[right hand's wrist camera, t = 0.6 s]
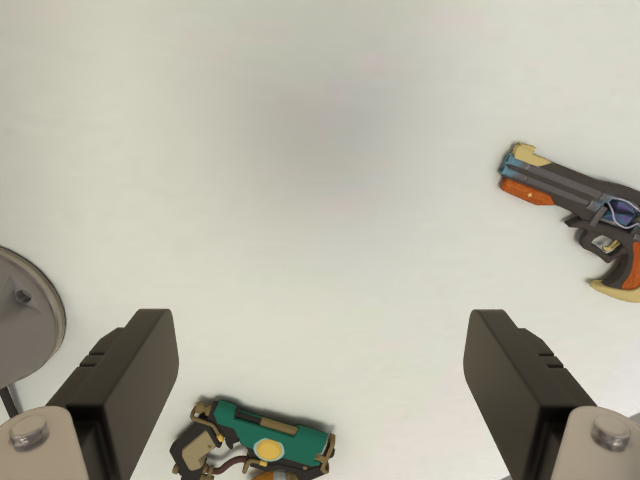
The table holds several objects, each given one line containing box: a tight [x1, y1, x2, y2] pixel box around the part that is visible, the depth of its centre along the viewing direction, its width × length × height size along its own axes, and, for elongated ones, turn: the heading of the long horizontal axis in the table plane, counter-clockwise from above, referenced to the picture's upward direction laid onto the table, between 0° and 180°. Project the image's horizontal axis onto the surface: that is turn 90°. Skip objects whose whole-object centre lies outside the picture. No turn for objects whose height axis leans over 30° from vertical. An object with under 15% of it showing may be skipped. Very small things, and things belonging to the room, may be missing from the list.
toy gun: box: [499, 143, 640, 303], centre depth 39 cm, size 3×19×10 cm
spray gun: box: [170, 400, 335, 480], centre depth 48 cm, size 4×17×15 cm
